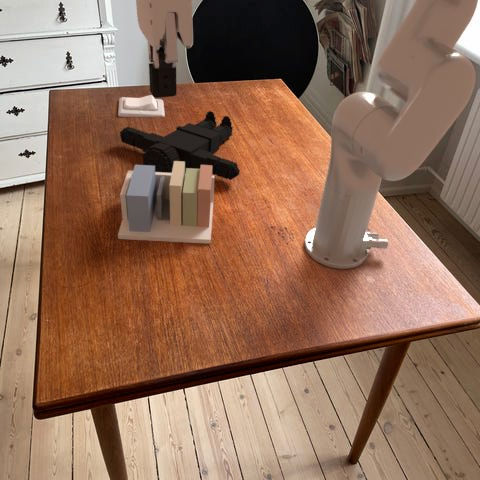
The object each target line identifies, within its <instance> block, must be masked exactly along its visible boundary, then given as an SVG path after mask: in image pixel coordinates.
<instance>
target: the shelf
mask: <svg viewBox="0 0 480 480" xmlns="http://www.w3.org/2000/svg"><path fill="white" fill-rule="evenodd" d="M132 174H133V170H129V169H127V172H126V175H125V178H124V182H123V185H122V188H121V191H120V194H119V195H120V196H119V197H120V208H121V209H120V210H121V219H122V220H121V223H120V226H119V229H118V233H117V238H118V240H131V241H132V240H133V241H135V240H136V241H148V242H149V241H150V242H151V241H154V242H155V241H156V242H170V243H189V244H192V243H193V244H206V245H207V244H211V242H212V228H213V227H212V225H213V214H214V213H213V211H214V198H215V197H214V195H215V194H214V193H215V175H214V174H212V165H201V166H200V169H194V168H185V162H183V161H174V164H173V169H172V173H164V172H155V178H156V205H155V210H154V215H153V220H152V225H151V230H150V232H135V231H129V220H128V208H127V197H126V195H127V191H128V188H129V184H130V181H131V177H132Z"/></svg>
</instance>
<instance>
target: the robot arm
mask: <svg viewBox="0 0 480 480" xmlns="http://www.w3.org/2000/svg"><path fill="white" fill-rule="evenodd" d="M135 3H136V4H135V7H136V15H137V16H136V17H137V22H138V23H137V24H138V28H139V30H140V31H141V33H142V34H143V36H144V37H145V39H146V41H147V48H148V49H147V51H148V61H149V62H148V73H149V74H148V75H149V92H150V93H151V95H152V96H153V97H154V99H161V98H171V97H175V96H176V95H177V63H178V61H179V60H178V57H179V56H178V40H179V42H180V43H181V44H182V45H183V46H184V47H185V48H186V49H191V48H192V46H193V45H194V27H193V25H194V24H193V0H135ZM478 3H479V0H415V2H414V3H413V5H412V7H411V8H410V10H409V12H408V14H407V15H406V16H405V18H404V19H403V21H402V23H400V25H399V27H398V29H397V31H396V32H395V33H394V35H393V36H392V38H391V39H390V40H389V43H388V44H387V45H386V47H385V49H384V51H383V52H382V53H381V56H380V57H379V59H378V62H377V64H376V69H375V74H376V78H377V80H378V82H379V84H380V85H381V86H382V87H383V88H385V90H387V91H388V92H389V93H391V94H392V95H394V96H395V97H396V98H398V99H399V100H400V101H402V102H403V103H405V104H404V106H403V107H402V109H401V110H400V109H399V108H397V107H396V106H394V105H393V104H391V103H390V102H389V101H388V100H386V99H385V98H383V97H381V95H378V94H377V93H373V92H370V91H357V92H354V93H351V94H349V95H348V96H345V98H344V99H343V100H342V101H340V103H339V104H338V106H337V108H336V109H335V111H334V115H333V118H332V122H331V136H330V138H331V139H330V141H331V142H330V143H331V145H330V157H329V162H328V163H329V164H328V168H327V174H326V177H325V183H324V187H323V191H322V196H321V201H320V206H319V210H318V215H317V219H316V225H315V227H314V228H312V229H311V230H309V231H308V232H307V233H306V236H305V240H304V248H305V250H306V252H307V254H308V255H309V256H310V257H311V258H312V259H313V260H315V261H316V262H318V263H320V264H321V265H324V266H326V267H329V268H331V269H332V268H333V269H340V270H345V269H346V270H348V269H354V268H356V267H359V266H361V265H363V264H364V263H365V262H366V260H367V258H368V255H369V250H371V249H373V248H376V249H388V247H389V246H388V245H389V241H388V239H387V238H379V232H378V231H367V230H368V226H369V223H370V219H371V217H372V212H373V211H374V210H373V209H374V207H375V203H376V199H377V195H378V193H379V189H380V187H381V182H382V179H383V180H385V181H388V182H389V181H390V182H395V181H400V180H403V179H405V178H407V177H408V176H410V175H411V174H413V173H414V172H415V171H416V170H417V169H418V168H419V167H420V166H422V164H423V163H424V161H426V159H427V158H428V157H429V155H430V154H431V152H432V151H433V150H434V149H435V147H437V145H439V143H440V141H441V140H442V139H443V138H444V136H445V135H446V133H447V132H448V131H449V129H450V128H451V127H452V125H453V124H454V123H455V122H456V120H457V119H458V118H459V116H460V115H461V114H462V112H463V110H464V109H465V107H466V106H467V105H468V103H469V101H470V99H471V97H472V95H473V92H474V88H475V85H476V79H477V78H476V70H475V69H476V68H475V67H474V65H473V63H472V62H471V60H470V59H469V58H467V57H466V56H465V55H464V54H462V53H461V52H459V51H457V50H455V49H454V48H455V46H456V44H457V42H458V41H459V40H460V38H461V36H462V35H463V34H464V32H465V31H466V29H467V28H468V26H469V25H470V22H471V20H473V17H474V14H475V12H476V9H477V5H478Z"/></svg>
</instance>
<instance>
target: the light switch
mask: <svg viewBox="0 0 480 480" xmlns="http://www.w3.org/2000/svg"><path fill="white" fill-rule="evenodd" d="M117 111H118V113H117V116H118V117H119V118H120V117H122V118H165V117H166V116H165V115H166V113H165V105H164V100H163V99H161V98H154V97H153V95H152V94H149V95H145V96H142V97H130V96H129V97H127V96H126V97H125V96H122V97H119V99H118V110H117Z"/></svg>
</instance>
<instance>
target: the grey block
mask: <svg viewBox="0 0 480 480" xmlns="http://www.w3.org/2000/svg"><path fill="white" fill-rule="evenodd" d="M132 171H133V174H132V177H131V181H130V184H129V188H128V191H127V195H126V197H127V208H128V220H129V231H135V232H150V230H151V225H152V220H153V215H154V210H155V205H156V178H155V166H151V165H143V164H135V165H134V168H133V170H132Z"/></svg>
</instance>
